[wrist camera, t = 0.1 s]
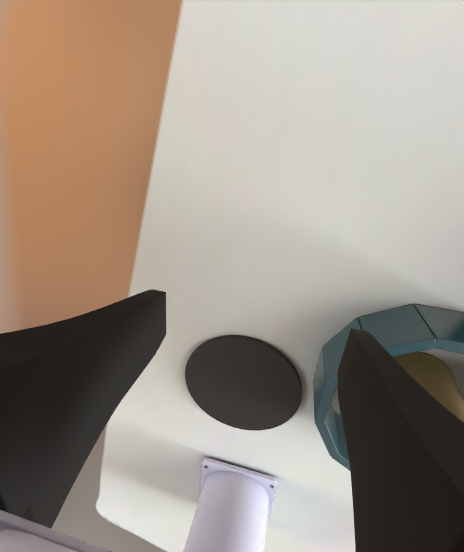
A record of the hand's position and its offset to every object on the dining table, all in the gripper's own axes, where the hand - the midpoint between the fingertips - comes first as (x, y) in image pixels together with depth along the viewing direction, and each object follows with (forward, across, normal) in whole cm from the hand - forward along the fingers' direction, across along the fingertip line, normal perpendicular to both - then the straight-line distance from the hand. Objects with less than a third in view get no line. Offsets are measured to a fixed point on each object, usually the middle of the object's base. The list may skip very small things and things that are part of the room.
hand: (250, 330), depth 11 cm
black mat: (+10, +1, +13) cm, 16 cm away
